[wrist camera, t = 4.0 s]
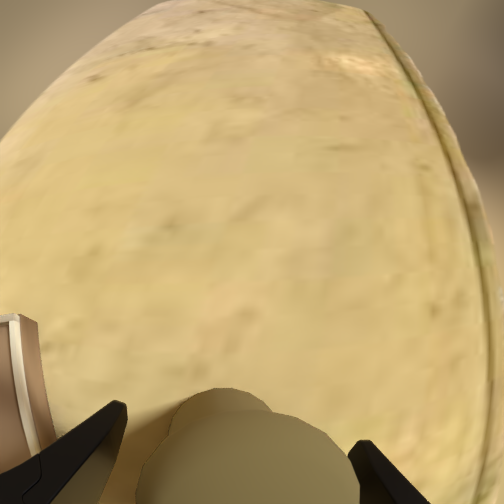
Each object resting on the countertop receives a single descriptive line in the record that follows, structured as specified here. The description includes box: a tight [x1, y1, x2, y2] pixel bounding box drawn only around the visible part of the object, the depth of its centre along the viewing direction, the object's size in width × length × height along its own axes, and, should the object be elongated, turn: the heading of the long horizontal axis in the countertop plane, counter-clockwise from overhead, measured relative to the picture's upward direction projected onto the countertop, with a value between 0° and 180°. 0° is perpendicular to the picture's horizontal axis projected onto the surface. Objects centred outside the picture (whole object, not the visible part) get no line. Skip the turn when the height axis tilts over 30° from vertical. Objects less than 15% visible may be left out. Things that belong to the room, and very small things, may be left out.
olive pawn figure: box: [135, 388, 360, 504], centre depth 8 cm, size 6×6×11 cm
